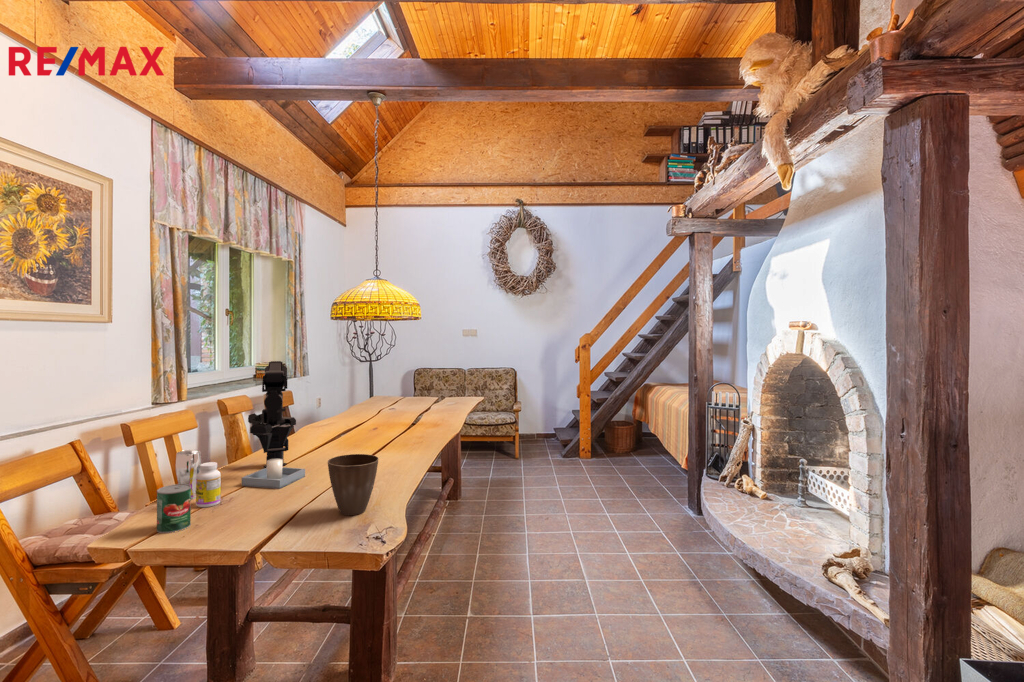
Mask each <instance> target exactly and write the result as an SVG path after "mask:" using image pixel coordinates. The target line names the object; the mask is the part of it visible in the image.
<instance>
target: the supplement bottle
mask: <svg viewBox="0 0 1024 682" xmlns="http://www.w3.org/2000/svg"><path fill="white" fill-rule="evenodd" d="M221 474H222V473H221V472H220V471H219V470H218V462H215V461H210V462H204V463H201V464H200V472H199V473H198V474H197V476H196V499H195V505H196V507H199V508H210V507H214V506H217V505H218V504H220V503H221V500H222V499H221V497H222V496H221V488H222V487H221V486H222V485H221V482H222V481H221V480H222V479H221V478H222V477H221Z"/></svg>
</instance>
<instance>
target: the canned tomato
mask: <svg viewBox="0 0 1024 682" xmlns="http://www.w3.org/2000/svg"><path fill="white" fill-rule="evenodd" d="M191 502H192V500H191V485H188V484H178V483H176V484H170V485H165V486H162V487H160V488H158V489H156V533H159V534H172V532H173V533H176V532H175V531H178V532H180V531H179V530H181V531H183V530H182V529H184V530H186V529H188V528H190V527H191V519H192V517H191V516H192V515H191V514H192V513H191V512H192V511H191V510H192V509H191V507H192V506H191V505H192V504H191ZM187 527H188V528H187ZM185 528H186V529H185Z"/></svg>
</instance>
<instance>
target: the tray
mask: <svg viewBox="0 0 1024 682" xmlns="http://www.w3.org/2000/svg"><path fill="white" fill-rule="evenodd" d="M305 477H306V469H305V468H302V467H301V468H300V467H299V468H298V467H285V466H283V467H282V479H267V468H265V467H263V468H262V469H259V470H256V471H254V472H252V473H250V474H247V475H244V476H241V487H249V488H250V487H251V488H265V489H277V490H280V489H283V488H284V487H287V486H288V485H291V484H293V483H295V482H298V481H299V480H301V479H303V478H305Z"/></svg>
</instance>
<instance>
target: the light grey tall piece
mask: <svg viewBox="0 0 1024 682" xmlns="http://www.w3.org/2000/svg"><path fill="white" fill-rule="evenodd" d="M175 456H176V457H175V474H176V475H175V476H176V479H177V484H188V485H191V499H192V500H196V499H195V498H196V476H197V474H198V473H199V472H201V470H200V464H202V456H201V450H199V449H188V450H187V449H186V450H181V451H178V452H176V455H175Z"/></svg>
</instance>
